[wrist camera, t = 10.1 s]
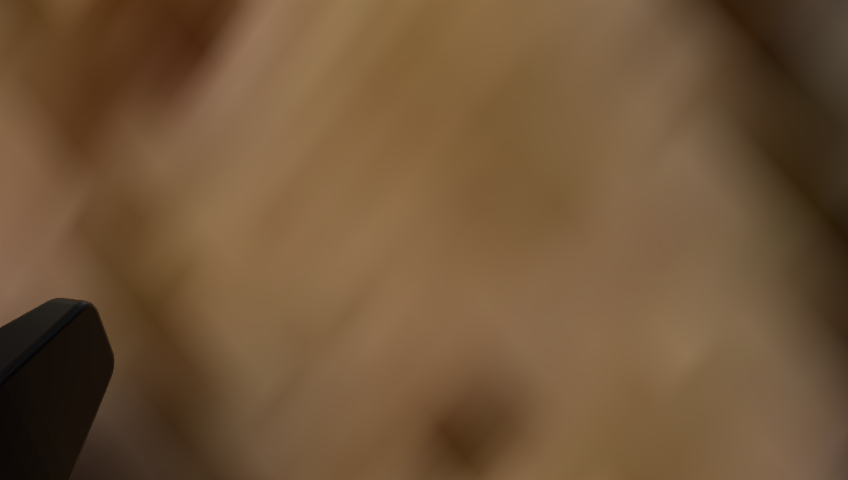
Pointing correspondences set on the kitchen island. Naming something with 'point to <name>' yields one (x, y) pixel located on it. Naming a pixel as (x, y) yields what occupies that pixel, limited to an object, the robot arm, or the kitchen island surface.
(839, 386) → the kitchen island surface
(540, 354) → the kitchen island surface
